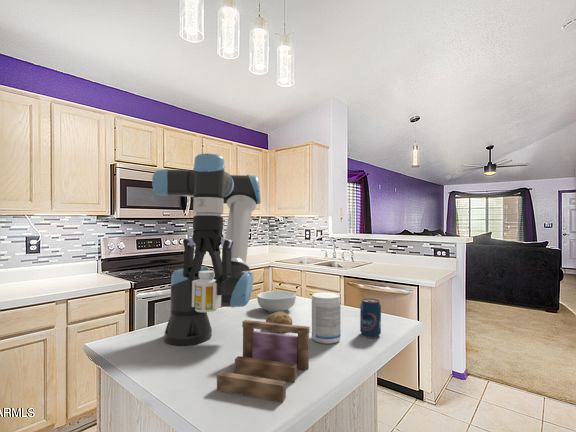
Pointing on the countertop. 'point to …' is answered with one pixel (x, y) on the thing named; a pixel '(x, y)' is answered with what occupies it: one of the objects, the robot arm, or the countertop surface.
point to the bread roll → (279, 319)
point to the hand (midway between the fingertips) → (206, 306)
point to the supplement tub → (326, 317)
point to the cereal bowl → (276, 300)
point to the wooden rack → (267, 361)
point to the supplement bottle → (204, 292)
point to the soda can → (370, 318)
